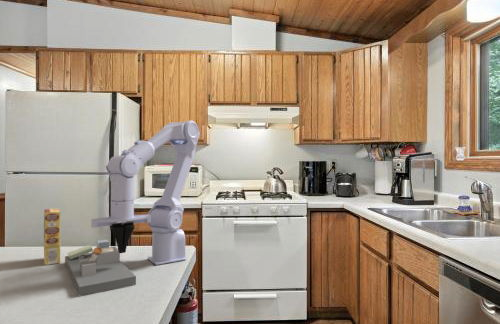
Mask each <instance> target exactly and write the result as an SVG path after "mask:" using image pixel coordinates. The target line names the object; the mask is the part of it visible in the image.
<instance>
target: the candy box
mask: <svg viewBox="0 0 500 324" xmlns="http://www.w3.org/2000/svg"><path fill="white" fill-rule="evenodd" d="M43 212H44V214H43V255H44V256H43V260H44V261H43V262H44V263H43V264H44V266H49V265H54V264H61V236H62V235H61V210H60V208H47V209H44V210H43Z"/></svg>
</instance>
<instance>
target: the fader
mask: <svg viewBox="0 0 500 324" xmlns="http://www.w3.org/2000/svg"><path fill="white" fill-rule="evenodd" d="M96 247H100V248H108V247H110V241H109V240H107V239H101V240H96Z"/></svg>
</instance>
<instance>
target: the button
mask: <svg viewBox="0 0 500 324" xmlns="http://www.w3.org/2000/svg"><path fill="white" fill-rule="evenodd" d="M110 251H114V248H102V252H101V253H103V252H110Z"/></svg>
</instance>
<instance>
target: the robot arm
mask: <svg viewBox="0 0 500 324" xmlns="http://www.w3.org/2000/svg"><path fill="white" fill-rule="evenodd" d="M200 134H201V133H200V129H199V127H198V124H197V122H195V121H194V120H191V119H190V120H187V121H178V122H171V121H170V122H168V123H167V124H165V125H164V126H163V128H162V129H160V130H159V131H158V132H157V133H156V134H154V135H153V136H151V137H150V138H149V139H148V140H140V139H139V140H136V141H134V142H133V144H134V145H132V146H131V147H129V148H128V149H123V150H122V152H121V154H120V155H114V156H112V157H111V158H110V159H109V161H108V163H107V165H105V170H106V173H107V174H108V176H109V181H110V216H107V217H101V218H91V223H90V224H91V225H90V226H91V228H92V229H93V228H95V229H96V228H99V227H110V228H109V229H110V230H111V232H112V235H113V237H114V239H115V243H116V246H117V249H118V252H119V253H120V254H124V253H126V251H127V246H128V244H129V239H130V237H131V235H132V233H133V232H134V230H135V225H134V224H143V223H144V224H145V223H147V225H148V226H149V228H150V231H151V233H152V235H151V236H152V237H151V238H152V239H151V241H152V242H151V244H152V245H151V254H152V255H151V256H148V257H147V260H149V261H150V262H151V263H153V264H154V265H156V266H158V265H163V264H164V265H165V264H170V263H176V262H181V261H186V260H187V257H186V236H185V232H184V230H183V229H180V228H181V226H182V224H183V213H184V210H185V208H184V207H183V205H182V204H181V203H180V201H181V198H182V194H183V192H184V188H185V185H186V183H187V179H188V176H189V173H190V171H191V168H192V164H193V161H194V158H195V155H196V149H197V145H198V141H199V138H200ZM168 142H169V143H170V145H171V146H172V148H173V149H174V150H175V151H176V152H177V154H176V156H175V160H174V162H173V165H172V168H171V170H170V173H169V177H168V180H167V182H166V184H165V188H164V190H163V193H162V196H161V197H160V198H159V199H157V200H156V201H155V202H154V203H153V206H152V208H151V209H150V210H149V211H148V213H147V214H135V176H137V175H138V173H139V171H140V168H141V167H142V166H143V165H144V164H145V163H147V162H148V161H150V160H151V159H153V157H154V156H155V154H156V153H155V151H156V150H158V149H159V148H161V147H163V146H164V145H165V144H166V143H168Z"/></svg>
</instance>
